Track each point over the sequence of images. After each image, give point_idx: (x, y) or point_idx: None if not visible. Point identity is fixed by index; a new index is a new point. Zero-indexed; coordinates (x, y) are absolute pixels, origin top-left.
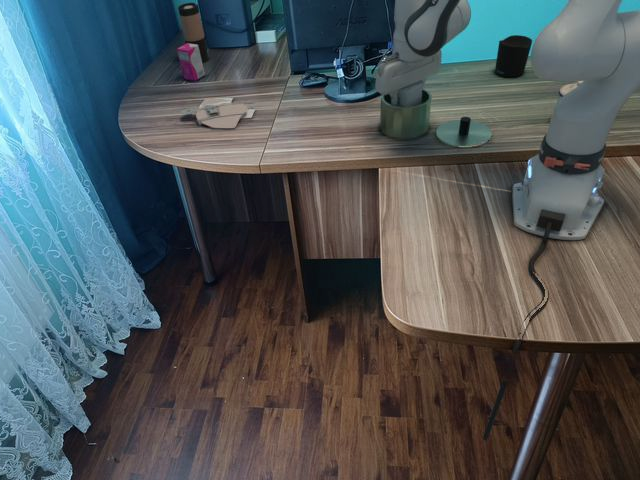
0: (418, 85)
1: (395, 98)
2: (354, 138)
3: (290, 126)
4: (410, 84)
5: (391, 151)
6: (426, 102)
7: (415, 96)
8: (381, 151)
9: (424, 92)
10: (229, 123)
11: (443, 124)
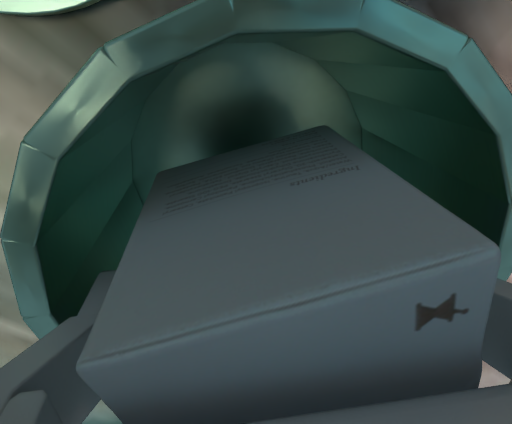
0: (214, 337)
1: (503, 280)
2: None
3: (492, 383)
4: (389, 406)
5: (477, 12)
6: (222, 11)
7: (279, 207)
8: (501, 54)
9: (53, 273)
10: None
11: (39, 2)
